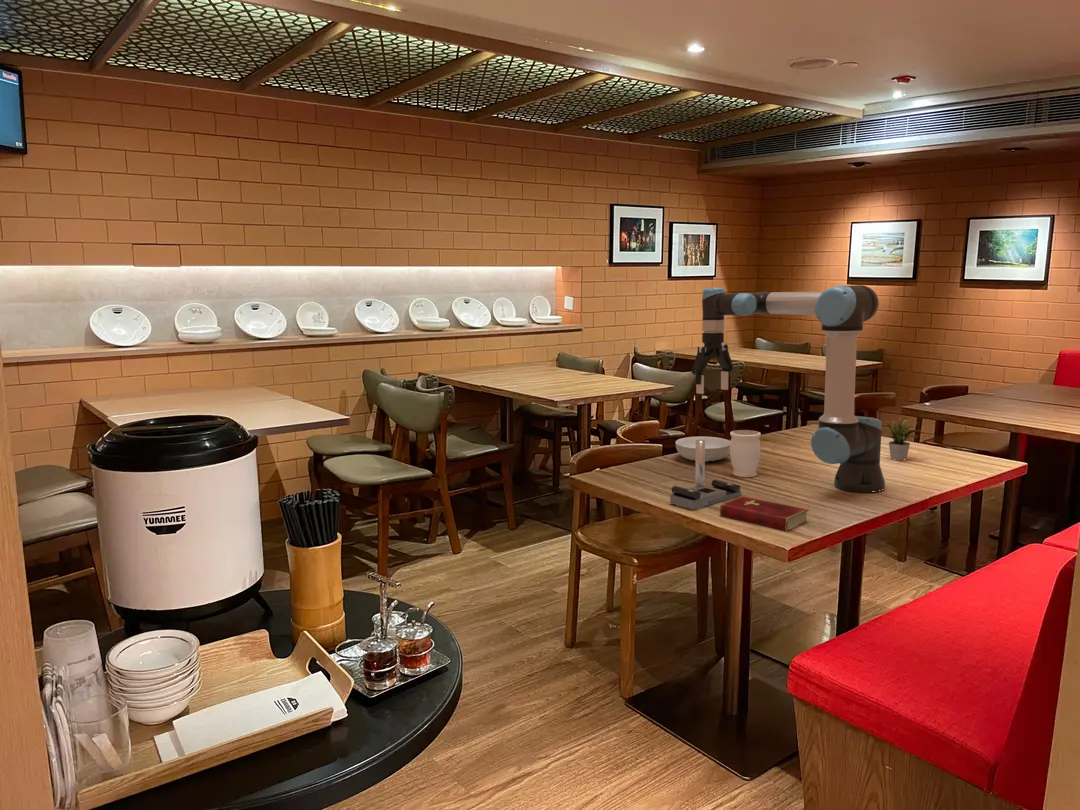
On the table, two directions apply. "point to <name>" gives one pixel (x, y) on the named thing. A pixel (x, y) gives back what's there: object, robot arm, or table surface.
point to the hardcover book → (763, 512)
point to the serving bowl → (713, 448)
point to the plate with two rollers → (704, 494)
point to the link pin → (700, 463)
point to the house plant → (899, 439)
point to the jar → (745, 452)
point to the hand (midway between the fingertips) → (712, 391)
